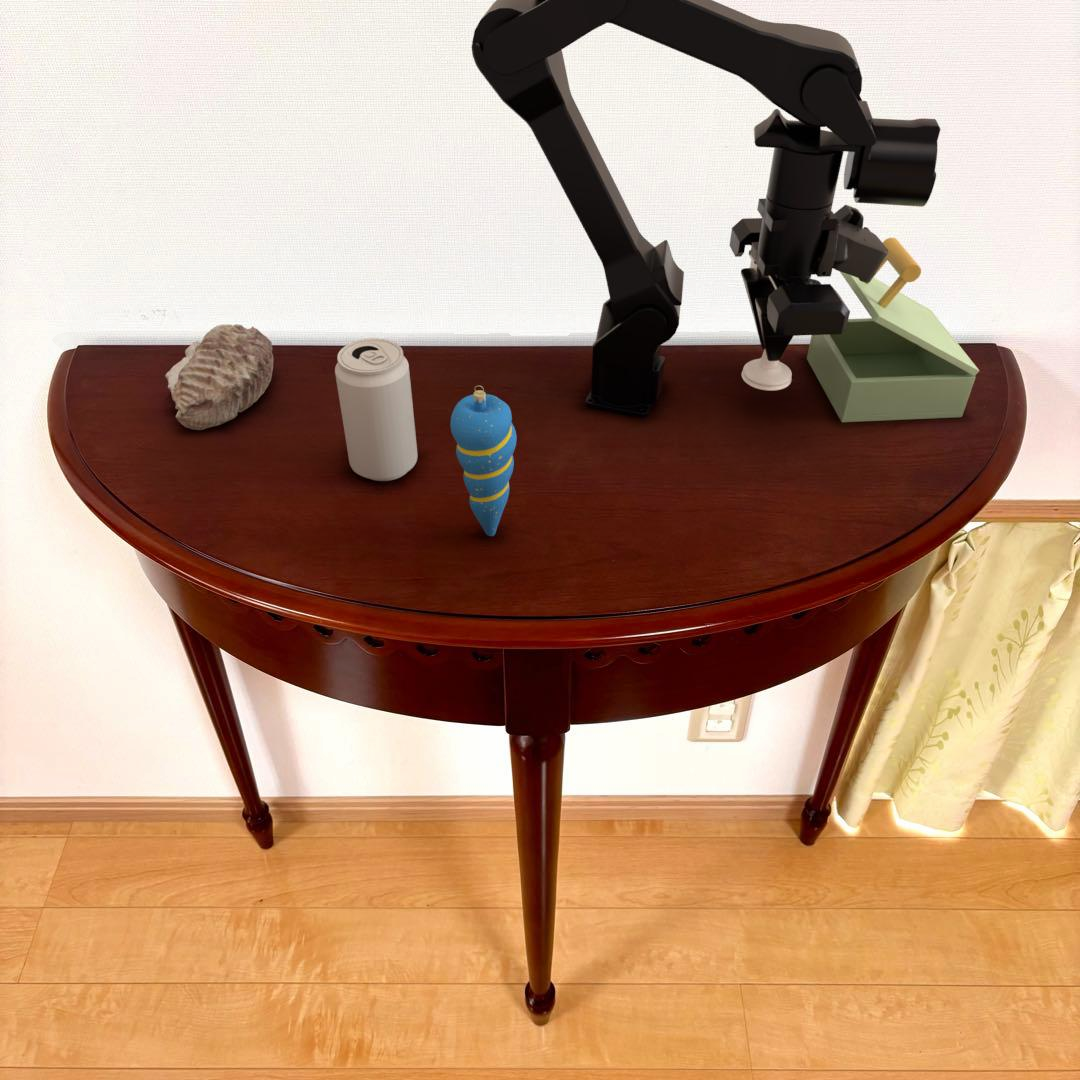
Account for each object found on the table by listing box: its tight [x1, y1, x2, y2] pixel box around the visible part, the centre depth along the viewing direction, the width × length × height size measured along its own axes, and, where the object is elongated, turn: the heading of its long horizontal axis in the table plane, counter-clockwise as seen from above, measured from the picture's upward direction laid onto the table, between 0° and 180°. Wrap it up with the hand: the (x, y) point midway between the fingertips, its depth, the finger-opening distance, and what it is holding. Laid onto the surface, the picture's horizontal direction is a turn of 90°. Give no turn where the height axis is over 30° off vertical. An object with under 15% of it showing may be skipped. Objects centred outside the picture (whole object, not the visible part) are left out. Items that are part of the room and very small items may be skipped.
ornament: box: [449, 385, 518, 537], centre depth 78 cm, size 5×5×15 cm
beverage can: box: [334, 337, 419, 482], centre depth 87 cm, size 6×6×12 cm
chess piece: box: [741, 349, 793, 392], centre depth 92 cm, size 5×5×10 cm
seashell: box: [164, 323, 274, 431], centre depth 97 cm, size 14×9×10 cm
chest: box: [806, 317, 976, 423], centre depth 99 cm, size 12×12×5 cm
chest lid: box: [839, 237, 980, 377], centre depth 94 cm, size 13×12×6 cm
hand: (770, 354), depth 94 cm, fingers closed on chess piece
